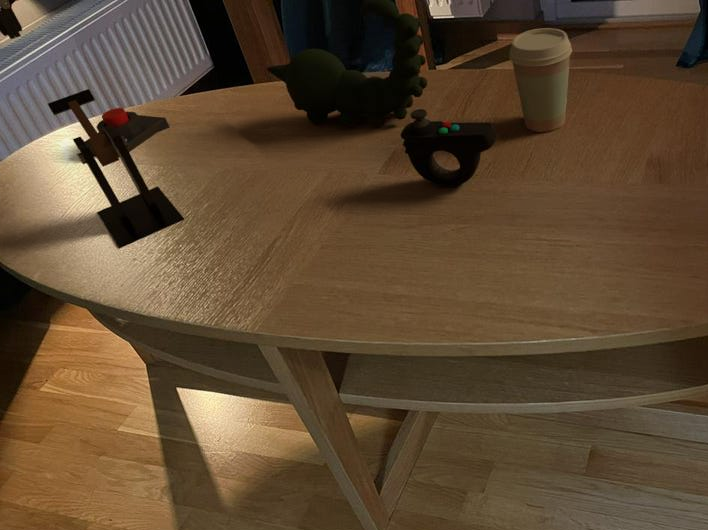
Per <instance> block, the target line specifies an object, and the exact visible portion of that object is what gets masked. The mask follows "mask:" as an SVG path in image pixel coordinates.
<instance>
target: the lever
mask: <svg viewBox="0 0 708 530" xmlns="http://www.w3.org/2000/svg"><path fill="white" fill-rule="evenodd" d="M95 101H96V99H95V97H94V95H93V93H92V91H91V90H90V89H89V88H87V89H84V90H81V91H79V92H76V93H73V94H70V95H68V96H65V97H62V98H59V99H57V100H54V101H50V102H48V103H47V106H48V108H49V109H50V111H51V112H52V114H53V115H54V116H57V115H59V114H62V113H64V112H68V111H70V110H71V112H72V113H73V115H74V116H75V118H76V119H77V121H78V123H79V124H80V125H81V128H82V129H83V131H85V133H86V135H87V137H89V138H90V139H89V138H88V139H86V140H87V141H88V143H89V145H90V147H91V149H92V150H93V152H94V154H95V156H96V157H95V158H97V160H98V162H99V163H100V165H101V167H106V166H108V165H111V164H113V163H116V162H119V161H120V157H118V156H117V154H116V152H115V150H114V148H113V146H112V145H111V143H110V142H109V140H108V139H107V137H106V136H105V134H101V135H99V134H98V130H97V129H96V127H94V125H93V124H92V122H91V120H90V119H89V118H88V116H87V115H86V113H85V112H84V110H83V109H82V107H81V106H84V105H86V104H89V103H92V102H95Z"/></svg>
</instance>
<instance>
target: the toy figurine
mask: <svg viewBox="0 0 708 530" xmlns="http://www.w3.org/2000/svg"><path fill="white" fill-rule="evenodd" d="M358 13H359V14H358V15H359V17H360V18H364V17H365V16H367V15H368V14H374V15H378V16H379V17H380V18H382V19H383V20H385V21H388V22H393V23H394V24H393V29H394V33H395V35H394V37H393V40H392V46H393V50H394V54H393V56H392V59H391V66H392V68H391V70H390V71H389V74H388V76H386V77H381V76H370V77H367V76H366V74H364V73H363V72H361V71H359V70H355V69H346V67H345V65H344V64H343V62H342V61H341V60H340V59H339V58H338V57H337V56H336V55H334V54H333V53H331V52H329V51H327V50H324V49H321V48H309V49H308V48H307V49H304V50H302V51H300V52H299V53H297V54H296V55H294V57H293V58H291V60H290V61H289V63H286V64H280V65H279V64H278V65H269V66H267V67H266V70H267V72H269V73H270V74H271V75H273V77H276V78H277V79H279V80H280V81H281V82H283V83H285V87H286V90H287V93H288V95H289V97H290V99H291V101H292V102H293V105H294V108H295V109H296V110H297V111H304V112H305V113H306V115H305V116H306V119H307V120H308V121H309V122H310V123H311V124H314V125H319V124H323V123H324V122H326V120H327V119H328V117H329V114H331V113H334V112H335V111H337V112H338V113H339V116H338V119H339V121H340V123H341V124H342V125H343V126H346V127H351V126H354V125H355V122H356V120H357V119H358V118H357V117H360V116H363V115H364V116H365V117H367V118H368V123H369V125H370V126H371V127H372V128H379V127H381V125H382V123H383V119H385V118H387V117H388V116H390V115H391V114H392V113H393V116H394V118H395V119H397V120H400V121H401V120H404V119H405V118H406V116H407V114H408V108H411V107H412V106H413V104H414V102H415V101H414V99H413V97H414V98H420V97H421V96H423V95H424V94H423V93H424V90H425V89H426V88H427V86H428V80H427V79H426V77H424V76H420V73H421V68H422V66H424V65H425V64H426V63H427V59H426V57H425V56H424V55H422V54H419V52H420V49H421V46H422V45H423V44H424V41H425V40H424V37H423V35H421V34H418V33H419V29H420V28H421V27H422V21H421V19H420V18H419V17H415V16H414V15H413V14H411V13H407V12H405V13H401V14H400V10H399V7H398V6H397V4H396V3H395V2H394V1H392V0H366V1H365V2H364V3H363V4H362V5H361V7H360V9H359V12H358Z"/></svg>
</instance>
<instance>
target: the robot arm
mask: <svg viewBox="0 0 708 530" xmlns="http://www.w3.org/2000/svg"><path fill="white" fill-rule="evenodd" d="M18 1H19V0H0V34H2V35H3V36H4V37H7V36H8V37H9V39H10V40H13V39H17V38H20V37H22V35H21V33H20V32H23V27H22V24H21V23H20V21H19V19H18V17H17V16H16V13H15V12H14V10H13V7H12V5H13V4H14V3H15V2H18Z"/></svg>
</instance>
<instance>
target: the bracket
mask: <svg viewBox="0 0 708 530" xmlns="http://www.w3.org/2000/svg"><path fill="white" fill-rule="evenodd" d="M104 129H105V131H106V133H107V135H108V136H109V138H110V140H111V142H112V144H113V146H114V147H115V149H116V151H117V153H118V155H119V157H118V158H119V160H121V162H122V164H123V166H124V167H125V170H126V171H127V173H128V175H129V177H130V179H131V181H132V183H133V184H134V186H135V189H136V190H137V192H138V193H139V194H137V195H134V196H132V197H130V198H127V199H124V200H122V201H119V199H118V196H117V195H116V193H115V192H114V190H113V188H112V186H111V184H110V183H109V180H107V178H106V176H105V174H104V173H103V171H102V168H101V167H100V165H99V163H98V161H97V160H96V159H95V158H96V157H94V156H93V155H92V153H91V151H90V149H89V148H88V146H87V145H86V143H85V141H84V139H83V138H82V136H78V137H75V138H73V139H72V141H73V142H74V144H75V146H76V148H77V149H78V151H79V152H78V153H76V156H77V157H78V159H79V161H80V162H81V164H82V165H85V164H86V165H87V167H88V168H89V170H90V172H91V174H92V175H93V177H94V179H95V180H96V182H97V184H98V185H99V187H100V189H101V191H102V192H103V194H104V196H105V198H106V200H107V201H108V203H109V205H110V206H108V207H105V208H103V209H101V210H98V211H97V212H96V214H97V215H98V217H99V218H100V220H101V222H102V223H103V225H104V226H105V228H106V229H107V231H108V233H109V234H110V236H111V237H112V239H113V240H114V242H115V244H116V246H117V247H118V249H122V248H124V247H126V246H129V245H131V244H133V243H135V242H138V241H141V240H142V239H144V238H147V237H149V236H151V235H154V234H156V233H158V232H160V231H162V230H164V229H167V228H169V227H172V226H174V225H176V224H179V223H180V222H182V221H185V218H184V216H183V215H182V214H181V212H179V210H178V209H177V208H176V207H175V205H174V204H173V203H172V202H171V201H170V200H169V198H168V197H167V195H166V194H165V193H164V192H163V190H162V189H161V188H160V187H159V186H155V187H153V188H150V189H149V187H148V185H147V184H146V182H145V179H144V178H143V176H142V174H141V172H140V170H139V168H138V167H137V165H136V163H135V161H134V159H133V157H132V155H131V153H130V152H129V151H128V149H127V148H126V147H129V145H128V143H127V141H126V139H125V138H124V136H122V137H121V136H120V135H119V133H118V132H117V131H116V130H115V129H114V127H113V126H112V125H109V126H106V127H104Z"/></svg>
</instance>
